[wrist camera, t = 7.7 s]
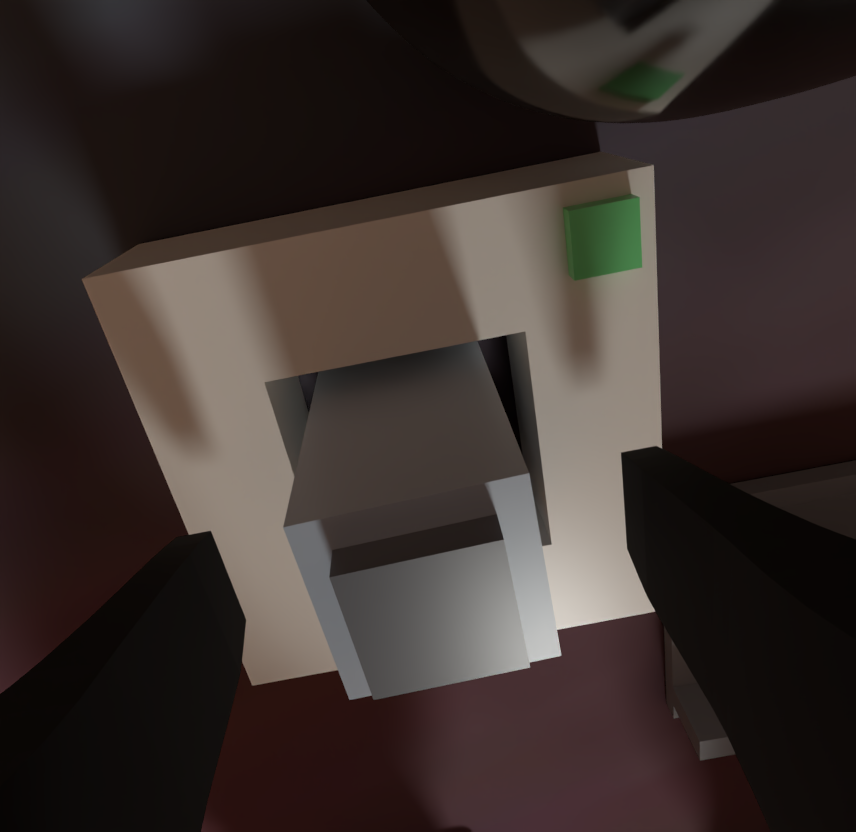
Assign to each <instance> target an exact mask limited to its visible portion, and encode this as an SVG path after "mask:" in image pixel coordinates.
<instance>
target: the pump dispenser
mask: <svg viewBox="0 0 856 832" xmlns="http://www.w3.org/2000/svg"><path fill="white" fill-rule="evenodd" d="M366 1H367V2H368V3H369V4H370V5H371V6H372V8H373V9H374V10H375V11H376V12H377V13H378V14H379V15H380V16H381V17H382V18H383V19H384V20H385V22H386V23H387V24H388V25H389V26H391V27H392V28H393V29H394V30H395V31H396V32H397V33H398V34H399V35H400V36H401V37H402V38H403V39H404V40H406V41H407V42H408V43H409V44H410V45H411V46H412V47H414V48H415V49H416V50H417V51H419V52H420V53H421V54H422V55H424V56H425V57H426V58H427V59H429V60H430V61H431V62H433V63H434V64H436V65H437V66H439V67H440V68H441V69H443V70H444V71H446V72H448V73H449V74H451V75H452V76H454V77H455V78H457V79H459V80H461V81H462V82H464V83H466V84H468V85H470V86H471V87H473V88H475V89H477V90H479V91H481V92H483V93H486V94H488V95H490V96H492V97H495V98H497V99H499V100H502V101H504V102H507V103H510V104H513V105H515V106H518V107H521V108H524V109H528V110H531V111H534V112H538V113H543V114H547V115H551V116H556V117H561V118H567V119H573V120H581V121H589V122H603V123H650V122H662V121H672V120H680V119H687V118H694V117H699V116H705V115H710V114H715V113H720V112H725V111H729V110H734V109H738V108H742V107H746V106H750V105H754V104H758V103H762V102H766V101H770V100H774V99H778V98H782V97H786V96H790V95H793V94H797V93H801V92H804V91H808V90H811V89H815V88H818V87H821V86H824V85H828V84H831V83H834V82H837V81H841V80H844V79H847V78H850V77H853V76H856V0H366Z"/></svg>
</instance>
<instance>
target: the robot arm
mask: <svg viewBox="0 0 856 832" xmlns="http://www.w3.org/2000/svg"><path fill="white" fill-rule="evenodd" d="M621 462H622V478H623V494H624V510H625V526H626V541H627V550H628V552H629V555H630V557H631V560H632V562H633V564H634V567H635V569H636V572H637V574H638V577H639V579H640V581H641V584H642V586H643V588H644V590H645V593H646V595H647V597H648V599H649V601H650V603H651V604H652V606H653V608H654V610H655V611H656V613H657V615H658V617H659V618H660V620H661V622H662V624H663V625H664V627H665V629H666V630H667V632H668V634H669V636H670V637H671V639H672V641H673V642H674V644H675V646H676V647H677V649H678V651H679V653H680V654H681V656H682V658H683V659H684V661H685V663H686V664H687V666H688V668H689V669H690V671H691V673H692V675H693V676H694V678H695V680H696V681H697V683H698V685H699V686H700V688H701V690H702V691H703V693H704V695H705V697H706V698H707V700H708V702H709V703H710V705H711V707H712V708H713V710H714V712H715V714H716V716H717V718H718V720H719V721H720V723H721V725H722V727H723V729H724V731H725V733H726V735H727V737H728V739H729V741H730V743H731V745H732V747H733V750H734V752H735V754H736V756H737V758H738V760H739V762H740V765H741V767H742V769H743V771H744V773H745V775H746V778H747V780H748V782H749V784H750V786H751V788H752V791H753V793H754V795H755V797H756V799H757V802H758V804H759V806H760V808H761V811H762V813H763V815H764V817H765V820H766V822H767V824H768V826H769V829H770V831H771V832H856V539H853V538H851V537H848V536H845V535H842V534H840V533H837V532H834V531H832V530H829V529H827V528H824V527H822V526H819V525H817V524H814V523H812V522H810V521H807V520H805V519H803V518H800V517H798V516H796V515H794V514H791V513H789V512H787V511H784V510H782V509H780V508H778V507H775V506H773V505H771V504H769V503H767V502H765V501H763V500H761V499H759V498H756V497H754V496H752V495H750V494H748V493H746V492H744V491H742V490H740V489H738V488H736V487H734V486H733V485H731V484H729V483H727V482H725V481H723V480H721V479H719V478H717V477H715V476H713V475H711V474H710V473H708V472H706V471H704V470H702V469H700V468H698V467H697V466H695V465H693V464H691V463H689V462H687V461H685V460H683V459H682V458H680V457H678V456H676V455H674V454H672V453H670V452H668V451H666V450H664V449H662V448H660V447H658V446H653V447H647V448H642V449H637V450H632V451H626V452H621ZM245 627H246V618H245V615H244V613H243V610H242V608H241V605H240V603H239V600H238V598H237V595H236V593H235V590H234V588H233V585H232V583H231V580H230V578H229V575H228V573H227V570H226V568H225V565H224V563H223V560H222V557H221V555H220V552H219V550H218V547H217V545H216V542H215V540H214V537H213V535H212V532H211V531H206V532H201V533H196V534H191V535H185V536H180V537H176V538H175V539H174V540H173V541H171V542H170V543H169V544H168V545H167V546H165V547H164V548H163V549H162V550H161V551H160V552H159V553H158V554H156V555H155V556H154V557H153V558H152V559H151V560H150V561H149V562H148V563H147V564H146V565H145V566H144V567H143V568H142V569H141V570H140V571H138V572H137V573H136V574H135V575H134V576H133V577H132V578H131V579H130V580H129V581H128V582H127V583H126V584H125V585H124V586H123V587H122V588H121V589H120V590H119V591H118V592H117V593H116V594H114V595H113V596H112V597H111V598H110V599H109V600H108V601H107V602H106V603H105V604H104V605H103V606H102V607H101V608H100V609H99V610H98V611H97V612H96V613H95V614H93V615H92V616H91V617H90V618H89V619H88V620H87V621H86V622H85V623H84V624H82V625H81V626H80V627H79V628H78V629H77V630H76V631H74V632H73V633H72V634H71V635H70V636H69V637H68V638H67V639H65V640H64V641H63V642H62V643H61V644H60V645H59V646H58V647H56V648H55V649H54V650H53V651H52V652H51V653H50V654H49V655H47V656H46V657H45V658H44V659H43V660H42V661H41V662H39V663H38V664H37V665H36V666H35V667H33V668H32V669H31V670H30V671H29V672H27V673H26V674H25V675H24V676H23V677H21V678H20V679H19V680H18V681H16V682H15V683H14V684H13V685H11V686H10V687H9V688H8V689H6V690H5V691H4V692H2V693H1V694H0V832H201V828H202V823H203V819H204V814H205V809H206V805H207V800H208V796H209V793H210V789H211V785H212V781H213V777H214V774H215V770H216V766H217V762H218V758H219V754H220V751H221V747H222V743H223V739H224V735H225V732H226V728H227V724H228V720H229V716H230V712H231V708H232V704H233V700H234V696H235V692H236V689H237V684H238V680H239V676H240V671H241V663H242V655H243V647H244V637H245Z"/></svg>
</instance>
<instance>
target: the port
mask: <svg viewBox="0 0 856 832" xmlns="http://www.w3.org/2000/svg"><path fill="white" fill-rule="evenodd" d="M82 281H83V283H84V286H85V288H86V291H87V293H88V295H89V298H90V300H91V302H92V305H93V307H94V310H95V312H96V314H97V317H98V319H99V322H100V324H101V326H102V329H103V331H104V333H105V336H106V338H107V341H108V343H109V345H110V348H111V350H112V353H113V355H114V357H115V360H116V362H117V364H118V367H119V369H120V372H121V374H122V376H123V379H124V381H125V384H126V386H127V388H128V391H129V393H130V395H131V398H132V400H133V403H134V405H135V407H136V410H137V412H138V415H139V417H140V419H141V422H142V424H143V426H144V429H145V431H146V434H147V436H148V438H149V441H150V443H151V446H152V448H153V450H154V453H155V455H156V457H157V460H158V462H159V465H160V467H161V469H162V472H163V474H164V477H165V479H166V481H167V484H168V486H169V488H170V491H171V493H172V496H173V498H174V500H175V503H176V505H177V507H178V510H179V512H180V515H181V517H182V519H183V522H184V524H185V527H186V529H187V531H188V534H189V535H191V534H196V533H201V532H206V531H211V532H212V535H213V537H214V540H215V542H216V545H217V547H218V550H219V552H220V555H221V557H222V560H223V563H224V565H225V568H226V570H227V573H228V575H229V578H230V580H231V583H232V585H233V588H234V590H235V593H236V595H237V598H238V600H239V603H240V605H241V608H242V610H243V613H244V615H245V618H246V627H245V637H244V647H243V655H242V662H243V665H244V667H245V670H246V672H247V674H248V677H249V679H250V682H251V684H252V686H254V685H259V684H265V683H270V682H275V681H281V680H286V679H292V678H297V677H303V676H308V675H313V674H319V673H324V672H330V671H335V670H338V669H337V666H336V664H335V661H334V658H333V656H332V653H331V651H330V648H329V646H328V643H327V640H326V638H325V635H324V633H323V630H322V627H321V625H320V622H319V620H318V617H317V614H316V612H315V609H314V607H313V604H312V601H311V599H310V596H309V594H308V591H307V588H306V586H305V583H304V581H303V578H302V575H301V573H300V570H299V568H298V565H297V562H296V560H295V557H294V555H293V552H292V549H291V547H290V544H289V542H288V539H287V536H286V534H285V531H284V529H283V525H284V521H285V517H286V512H287V508H288V503H289V499H290V494H291V490H292V486H293V481H294V477H295V472H296V468H297V464H298V459H299V455H300V450H301V446H302V442H303V437H304V433H305V428H306V424H307V420H308V415H309V412H308V408H307V405H306V401H305V398H304V395H303V391H302V388H301V384H300V381H299V377H298V376H299V375H304V374H309V373H314V372H319V371H324V370H330V369H335V368H340V367H345V366H350V365H355V364H360V363H366V362H371V361H376V360H381V359H386V358H391V357H396V356H402V355H407V354H412V353H417V352H422V351H427V350H432V349H438V348H443V347H448V346H453V345H458V344H463V343H468V342H474V341H479V340H484V339H489V338H494V337H499V336H504V335H506V338H507V345H508V353H509V360H510V367H511V375H512V382H513V389H514V396H515V404H516V411H517V418H518V426H519V433H520V440H521V448H522V455H523V458H524V461H525V463H526V466H527V469H528V471H529V474H530V480H531V486H532V491H533V497H534V503H535V508H536V514H537V520H538V526H539V531H540V537H541V543H542V548H543V554H544V560H545V565H546V571H547V577H548V583H549V588H550V594H551V600H552V605H553V611H554V617H555V622H556V628H557V630H558V629H563V628H569V627H574V626H580V625H585V624H591V623H596V622H602V621H607V620H612V619H618V618H623V617H629V616H634V615H640V614H645V613H650V612H656V611H655V610H654V608H653V606H652V604H651V603H650V601H649V599H648V597H647V595H646V593H645V590H644V588H643V586H642V584H641V581H640V579H639V577H638V574H637V572H636V569H635V567H634V564H633V562H632V560H631V557H630V555H629V552H628V550H627V541H626V526H625V510H624V494H623V478H622V462H621V452H626V451H632V450H637V449H642V448H647V447H653V446H658V447H660V448H662V430H661V396H660V362H659V328H658V294H657V260H656V226H655V192H654V165H651V164H648V163H644V162H640V161H636V160H632V159H628V158H624V157H620V156H617V155H613V154H609V153H605V152H597V153H592V154H587V155H582V156H577V157H572V158H567V159H562V160H557V161H552V162H547V163H542V164H537V165H532V166H527V167H522V168H517V169H512V170H507V171H502V172H497V173H492V174H487V175H482V176H477V177H472V178H467V179H462V180H457V181H452V182H447V183H442V184H437V185H432V186H427V187H422V188H417V189H412V190H407V191H402V192H397V193H392V194H387V195H382V196H377V197H372V198H367V199H362V200H357V201H352V202H347V203H342V204H337V205H332V206H327V207H322V208H317V209H312V210H307V211H302V212H297V213H292V214H287V215H282V216H277V217H272V218H267V219H262V220H257V221H252V222H247V223H242V224H237V225H232V226H227V227H222V228H217V229H212V230H207V231H202V232H197V233H192V234H187V235H182V236H177V237H172V238H167V239H162V240H157V241H152V242H147V243H142V244H138V245H136V246H135V247H133V248H132V249H130V250H128V251H127V252H125V253H123V254H122V255H120V256H118V257H117V258H115V259H114V260H112V261H110V262H109V263H107V264H105V265H104V266H102V267H101V268H99V269H97V270H96V271H94V272H92V273H91V274H89V275H88V276H86V277H84V278H83V279H82Z"/></svg>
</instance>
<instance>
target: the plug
mask: <svg viewBox="0 0 856 832" xmlns="http://www.w3.org/2000/svg"><path fill="white" fill-rule="evenodd" d="M283 529H284V531H285V534H286V536H287V539H288V542H289V544H290V547H291V549H292V552H293V555H294V557H295V560H296V562H297V565H298V568H299V570H300V573H301V575H302V578H303V581H304V583H305V586H306V588H307V591H308V594H309V596H310V599H311V601H312V604H313V607H314V609H315V612H316V614H317V617H318V620H319V622H320V625H321V627H322V630H323V633H324V635H325V638H326V640H327V643H328V646H329V648H330V651H331V653H332V656H333V658H334V661H335V664H336V666H337V669H338V671H339V674H340V677H341V679H342V682H343V684H344V687H345V690H346V692H347V695H348V697H349V700H353V699H357V698H362V697H367V696H372V697H373V700H377V699H382V698H386V697H391V696H396V695H401V694H405V693H410V692H415V691H420V690H424V689H429V688H434V687H439V686H444V685H448V684H453V683H458V682H463V681H467V680H472V679H477V678H482V677H486V676H491V675H496V674H501V673H506V672H510V671H515V670H520V669H525V668H529V667H530V664H529V662H534V661H538V660H543V659H548V658H553V657H557V656H561V651H560V645H559V640H558V634H557V628H556V622H555V617H554V611H553V605H552V600H551V594H550V588H549V583H548V577H547V571H546V565H545V560H544V554H543V548H542V543H541V537H540V531H539V526H538V520H537V514H536V508H535V503H534V497H533V491H532V486H531V480H530V474H529V471H528V469H527V466H526V463H525V461H524V458H523V456H522V453H521V451H520V448H519V446H518V443H517V441H516V438H515V435H514V433H513V430H512V428H511V425H510V423H509V420H508V418H507V415H506V413H505V410H504V407H503V405H502V402H501V400H500V397H499V395H498V392H497V390H496V387H495V385H494V382H493V379H492V377H491V374H490V372H489V369H488V367H487V364H486V362H485V359H484V357H483V354H482V351H481V349H480V346H479V344H478V341H474V342H468V343H463V344H458V345H453V346H448V347H443V348H438V349H432V350H427V351H422V352H417V353H412V354H407V355H402V356H396V357H391V358H386V359H381V360H376V361H371V362H366V363H360V364H355V365H350V366H345V367H340V368H335V369H330V370H324V371H319V372H318V375H317V380H316V384H315V389H314V393H313V398H312V402H311V406H310V411H309V415H308V420H307V424H306V428H305V433H304V437H303V442H302V446H301V450H300V455H299V459H298V464H297V468H296V472H295V477H294V481H293V486H292V490H291V494H290V499H289V503H288V508H287V512H286V517H285V521H284V525H283Z"/></svg>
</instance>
